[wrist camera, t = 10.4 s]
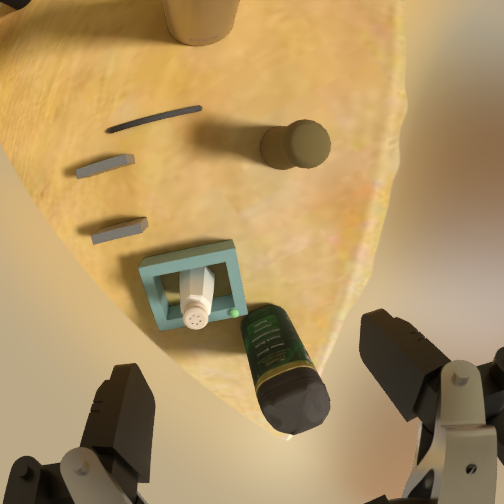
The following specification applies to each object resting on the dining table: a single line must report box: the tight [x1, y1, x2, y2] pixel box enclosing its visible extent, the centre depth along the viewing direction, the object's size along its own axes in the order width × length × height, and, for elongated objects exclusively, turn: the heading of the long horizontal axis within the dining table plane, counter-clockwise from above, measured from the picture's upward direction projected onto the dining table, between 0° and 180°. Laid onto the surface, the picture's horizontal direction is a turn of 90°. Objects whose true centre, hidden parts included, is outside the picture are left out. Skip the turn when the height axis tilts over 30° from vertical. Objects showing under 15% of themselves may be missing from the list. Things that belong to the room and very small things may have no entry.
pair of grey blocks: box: [76, 154, 148, 245], centre depth 32 cm, size 10×7×4 cm
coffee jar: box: [241, 305, 330, 435], centre depth 35 cm, size 10×8×19 cm
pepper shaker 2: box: [260, 119, 331, 170], centre depth 31 cm, size 6×6×11 cm
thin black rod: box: [108, 105, 202, 133], centre depth 31 cm, size 13×1×1 cm, turn 99°
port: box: [138, 240, 248, 331], centre depth 37 cm, size 10×13×4 cm
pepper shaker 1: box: [179, 266, 215, 330], centre depth 34 cm, size 5×5×11 cm
